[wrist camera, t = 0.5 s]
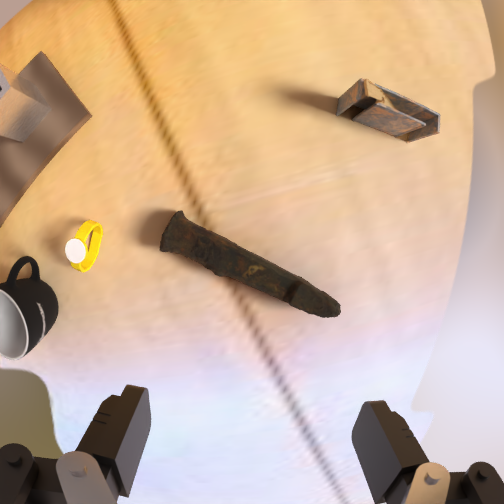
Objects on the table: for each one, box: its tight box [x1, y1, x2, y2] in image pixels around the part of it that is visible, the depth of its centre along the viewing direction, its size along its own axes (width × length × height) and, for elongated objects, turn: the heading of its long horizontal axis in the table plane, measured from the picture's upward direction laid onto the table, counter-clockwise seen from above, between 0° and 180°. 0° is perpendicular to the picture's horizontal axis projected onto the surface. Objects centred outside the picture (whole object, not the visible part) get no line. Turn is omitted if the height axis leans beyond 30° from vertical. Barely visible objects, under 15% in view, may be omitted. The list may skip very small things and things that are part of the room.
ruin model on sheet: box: [336, 78, 440, 142], centre depth 32 cm, size 11×3×10 cm, turn 78°
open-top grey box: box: [0, 64, 52, 142], centre depth 25 cm, size 6×6×10 cm
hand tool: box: [160, 211, 341, 318], centre depth 35 cm, size 23×5×6 cm, turn 61°
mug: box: [0, 256, 58, 360], centre depth 30 cm, size 12×9×10 cm
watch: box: [65, 220, 103, 273], centre depth 32 cm, size 6×3×6 cm, turn 160°
